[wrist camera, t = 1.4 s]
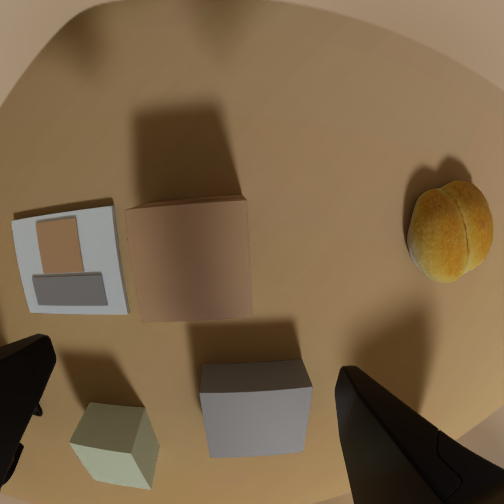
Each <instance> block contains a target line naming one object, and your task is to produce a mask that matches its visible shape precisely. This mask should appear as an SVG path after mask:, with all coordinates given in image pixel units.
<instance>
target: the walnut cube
mask: <svg viewBox="0 0 504 504" xmlns="http://www.w3.org/2000/svg"><path fill="white" fill-rule="evenodd" d="M125 217H126V226H127V235H128V243H129V251H130V258H131V265H132V272H133V278H134V284H135V290H136V296H137V301H138V307H139V312H140V317H141V322H170V321H199V320H220V319H237V318H252V317H253V313H252V293H251V272H250V252H249V231H248V211H247V200H246V199H245V197H244V196H243V195H226V196H211V197H197V198H184V199H172V200H161V201H153V202H149V203H146V204H143V205H139V206H136V207H133V208H129V209H126V210H125Z"/></svg>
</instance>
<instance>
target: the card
mask: <svg viewBox="0 0 504 504" xmlns="http://www.w3.org/2000/svg"><path fill="white" fill-rule="evenodd" d="M11 222H12V230H13V237H14V243H15V249H16V255H17V260H18V265H19V270H20V275H21V279H22V283H23V288H24V292H25V296H26V299H27V303H28V307H29V310H30V313H54V314H128V313H129V312H130V310H129V305H128V300H127V295H126V289H125V284H124V278H123V272H122V266H121V259H120V252H119V245H118V237H117V229H116V219H115V209H114V205H113V206H105V207H97V208H89V209H82V210H74V211H67V212H60V213H54V214H47V215H41V216H35V217H29V218H23V219H17V220H13V221H11Z"/></svg>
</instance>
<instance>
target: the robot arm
mask: <svg viewBox="0 0 504 504" xmlns="http://www.w3.org/2000/svg"><path fill="white" fill-rule="evenodd" d="M55 364H56V354H55V351H54V348H53V345H52V342H51V339H50V338H49V336H47V335H44V334H35V335H33V336H30V337H27V338H24V339H21V340H19V341H16V342H13V343H10V344H7V345H5V346H2V347H0V490H1V487H2V485H4V484H5V483H6V482H7V481H8V480H9V479H10V478H11V476H12V474H13V473H14V471H15V468H16V465H17V463H18V460H19V458H20V455H21V453H22V450H23V448H24V446H23V445H22V444H21V443H19V442H20V440H21V438H22V436H23V434H24V432H25V429H26V427H27V425H28V423H29V421H30V419H31V417H32V415H36V416H42V414H43V413H42V411H41V409H40V407H39V405H38V403H39V401H40V399H41V397H42V394H43V392H44V390H45V387H46V385H47V382H48V380H49V378H50V375H51V373H52V370H53V368H54V366H55ZM335 401H336V410H337V419H338V428H339V437H340V443H341V447H342V452H343V456H344V460H345V465H346V469H347V474H348V478H349V483H350V487H351V492H352V497H353V501H354V504H504V469H503V468H501V467H499V466H497V465H495V464H493V463H491V462H489V461H488V460H486V459H484V458H482V457H481V456H479V455H477V454H475V453H474V452H472V451H470V450H469V449H467V448H465V447H464V446H462V445H461V444H459V443H458V442H456V441H455V440H453V439H452V438H451V437H449V436H448V435H446V434H445V433H444V432H442V431H441V430H439V431H438V428H437V427H435V426H434V425H433V424H431V423H430V422H429V421H427V420H426V419H425V418H423V417H422V416H421V415H419V414H418V413H417V412H415V411H414V410H413V409H411V408H410V407H409V406H407V405H406V404H405V403H404V402H402V401H401V400H400V399H398V398H397V397H396V396H394V395H393V394H392V393H390V392H389V391H388V390H387V389H385V388H384V387H383V386H381V385H380V384H379V383H377V382H376V381H375V380H374V379H372V378H371V377H370V376H368V375H367V374H366V373H365V372H363V371H362V370H361V369H360V368H358V367H357V366H343V367H341V369H340V372H339V375H338V379H337V383H336V386H335Z"/></svg>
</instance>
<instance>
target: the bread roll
mask: <svg viewBox="0 0 504 504" xmlns="http://www.w3.org/2000/svg"><path fill="white" fill-rule="evenodd" d="M492 240H493V221H492V216H491V212H490V209H489V205H488V203H487V200H486V199H485V197H484V195H483V194H482V192H481V191H480V190H479V189H478V188H477V187H476V186H475V185H474V184H472V183H470V182H466V181H459V180H457V181H452V182H450V183H448V184H446V185H444V186H443V187H440V188H437V189H430V190H428V191H426V192H424V193H423V194H421V195H420V196H419V198H418V199H417V201H416V203H415V207H414V210H413V214H412V218H411V222H410V226H409V230H408V235H407V245H408V249H409V253H410V256H411V258H412V261H413V262H414V264H415V265H416V266H417V268H418V269H419V270H420V271H421V272H422V273H423V274H424V275H425V276H426V277H428V278H430V279H431V280H434V281H436V282H444V283H450V282H453V281H455V280H457V279H458V278H459V277H460V276H461V275H463V274H465V273H466V272H469V271H470V270H472V269H474V268H476V267H477V266H478V265H479V264H480V263H481V262H482V261H483V260H484V259H485V258H486V256H487V254H488V252H489V249H490V247H491V244H492Z"/></svg>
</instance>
